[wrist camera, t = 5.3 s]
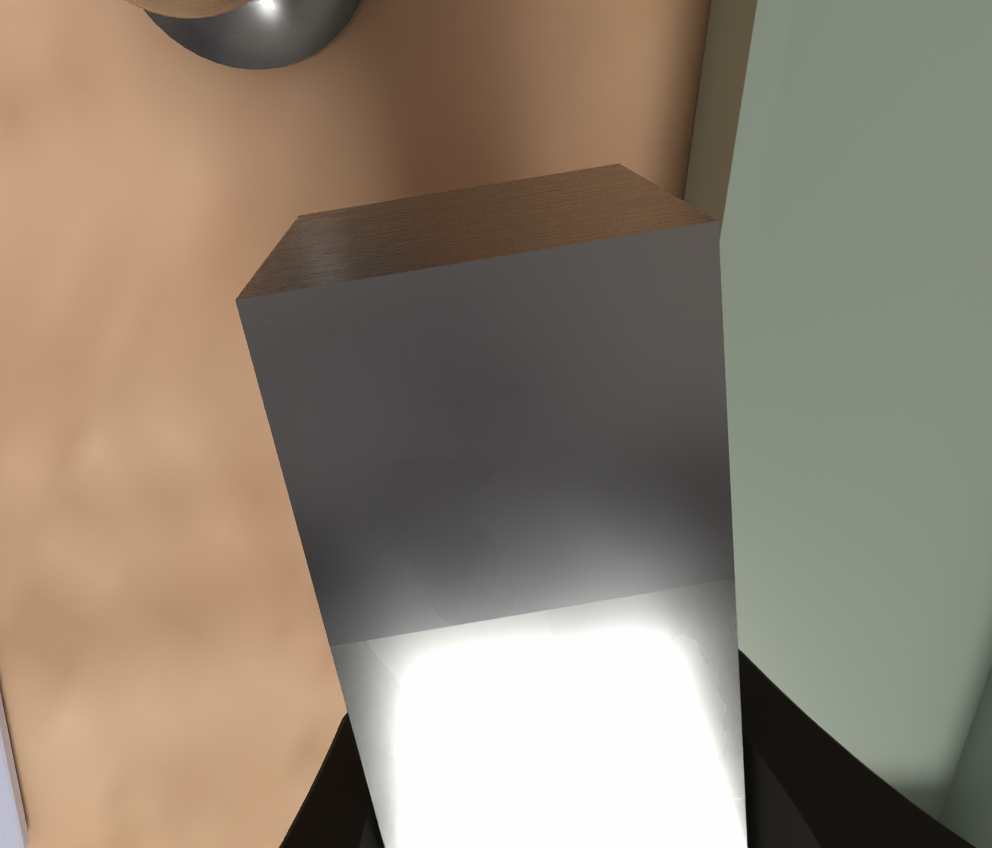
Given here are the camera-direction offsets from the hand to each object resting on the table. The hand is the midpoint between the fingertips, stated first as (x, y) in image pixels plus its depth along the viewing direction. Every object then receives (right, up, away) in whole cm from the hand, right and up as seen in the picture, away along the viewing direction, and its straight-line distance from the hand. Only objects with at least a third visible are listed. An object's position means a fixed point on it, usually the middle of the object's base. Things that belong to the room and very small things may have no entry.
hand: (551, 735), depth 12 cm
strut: (0, +1, +2) cm, 2 cm away
